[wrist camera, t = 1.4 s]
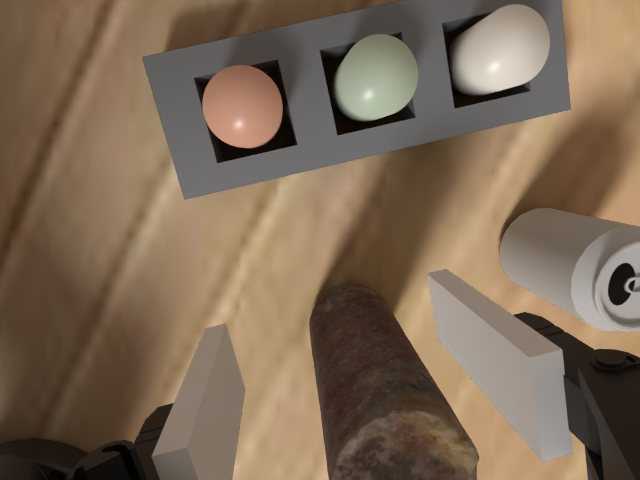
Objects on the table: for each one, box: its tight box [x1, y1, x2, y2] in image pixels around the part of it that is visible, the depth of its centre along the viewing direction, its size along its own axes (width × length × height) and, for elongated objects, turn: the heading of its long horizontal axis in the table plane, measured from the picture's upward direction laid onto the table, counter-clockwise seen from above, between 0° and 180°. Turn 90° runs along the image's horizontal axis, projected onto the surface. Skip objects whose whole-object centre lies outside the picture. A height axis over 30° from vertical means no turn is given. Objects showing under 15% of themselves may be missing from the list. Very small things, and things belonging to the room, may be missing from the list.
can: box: [500, 207, 640, 332], centre depth 33 cm, size 8×8×12 cm
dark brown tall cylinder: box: [309, 285, 479, 480], centre depth 28 cm, size 8×7×20 cm
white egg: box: [447, 4, 550, 97], centre depth 30 cm, size 5×5×5 cm
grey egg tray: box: [142, 0, 571, 200], centre depth 32 cm, size 30×10×4 cm, turn 103°
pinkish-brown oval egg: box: [202, 65, 283, 148], centre depth 29 cm, size 5×5×5 cm
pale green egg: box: [332, 34, 418, 122], centre depth 29 cm, size 5×5×5 cm
